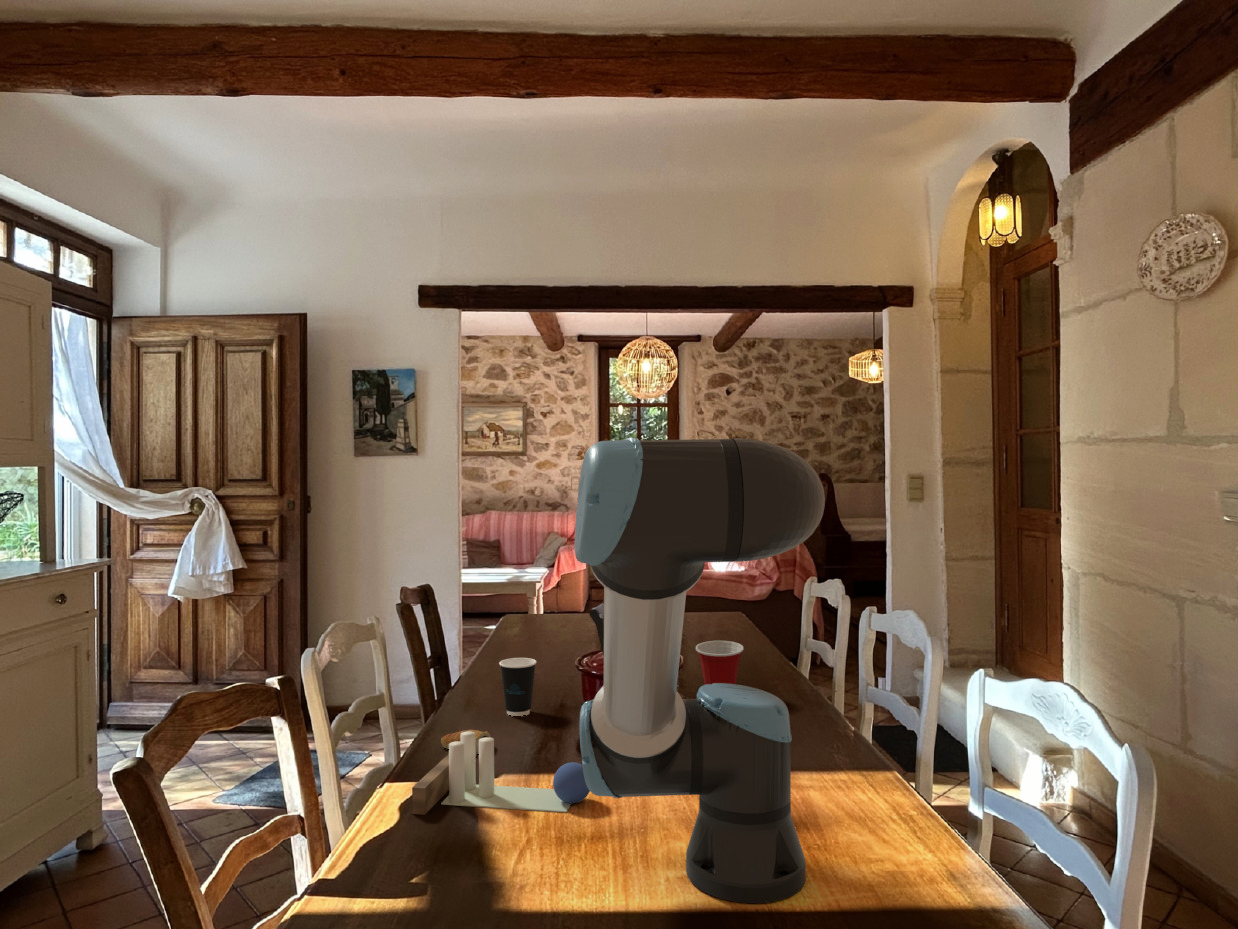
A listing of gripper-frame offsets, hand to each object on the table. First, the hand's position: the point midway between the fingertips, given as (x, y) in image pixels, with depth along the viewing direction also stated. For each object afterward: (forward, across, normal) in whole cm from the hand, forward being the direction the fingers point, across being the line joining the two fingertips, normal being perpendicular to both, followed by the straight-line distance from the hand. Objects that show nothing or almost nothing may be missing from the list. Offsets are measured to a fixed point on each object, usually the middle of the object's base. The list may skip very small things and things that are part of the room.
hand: (631, 716), depth 126 cm
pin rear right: (+14, +27, +3) cm, 31 cm away
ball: (+11, +9, 0) cm, 14 cm away
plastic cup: (+14, -11, -60) cm, 63 cm away
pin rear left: (+14, +27, -2) cm, 31 cm away
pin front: (+14, +23, 0) cm, 27 cm away
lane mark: (+14, +19, 0) cm, 24 cm away
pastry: (+14, +34, -20) cm, 43 cm away
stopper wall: (+14, +31, 0) cm, 34 cm away
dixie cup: (+14, +31, -43) cm, 55 cm away
